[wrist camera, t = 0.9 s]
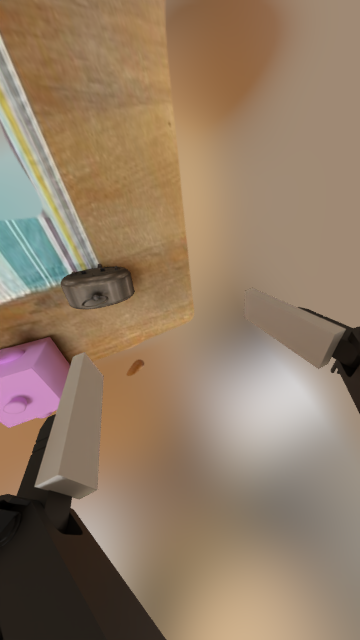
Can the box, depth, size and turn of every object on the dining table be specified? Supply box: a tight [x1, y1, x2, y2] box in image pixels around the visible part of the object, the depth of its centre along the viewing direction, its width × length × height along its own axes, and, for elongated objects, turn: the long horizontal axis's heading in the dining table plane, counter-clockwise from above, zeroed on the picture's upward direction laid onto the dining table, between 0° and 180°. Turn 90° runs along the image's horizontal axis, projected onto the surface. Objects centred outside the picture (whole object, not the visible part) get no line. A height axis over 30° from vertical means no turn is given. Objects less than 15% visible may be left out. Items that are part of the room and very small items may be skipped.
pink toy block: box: [0, 337, 70, 428], centre depth 31 cm, size 20×10×12 cm, turn 7°
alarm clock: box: [61, 264, 135, 309], centre depth 26 cm, size 11×5×16 cm, turn 93°
